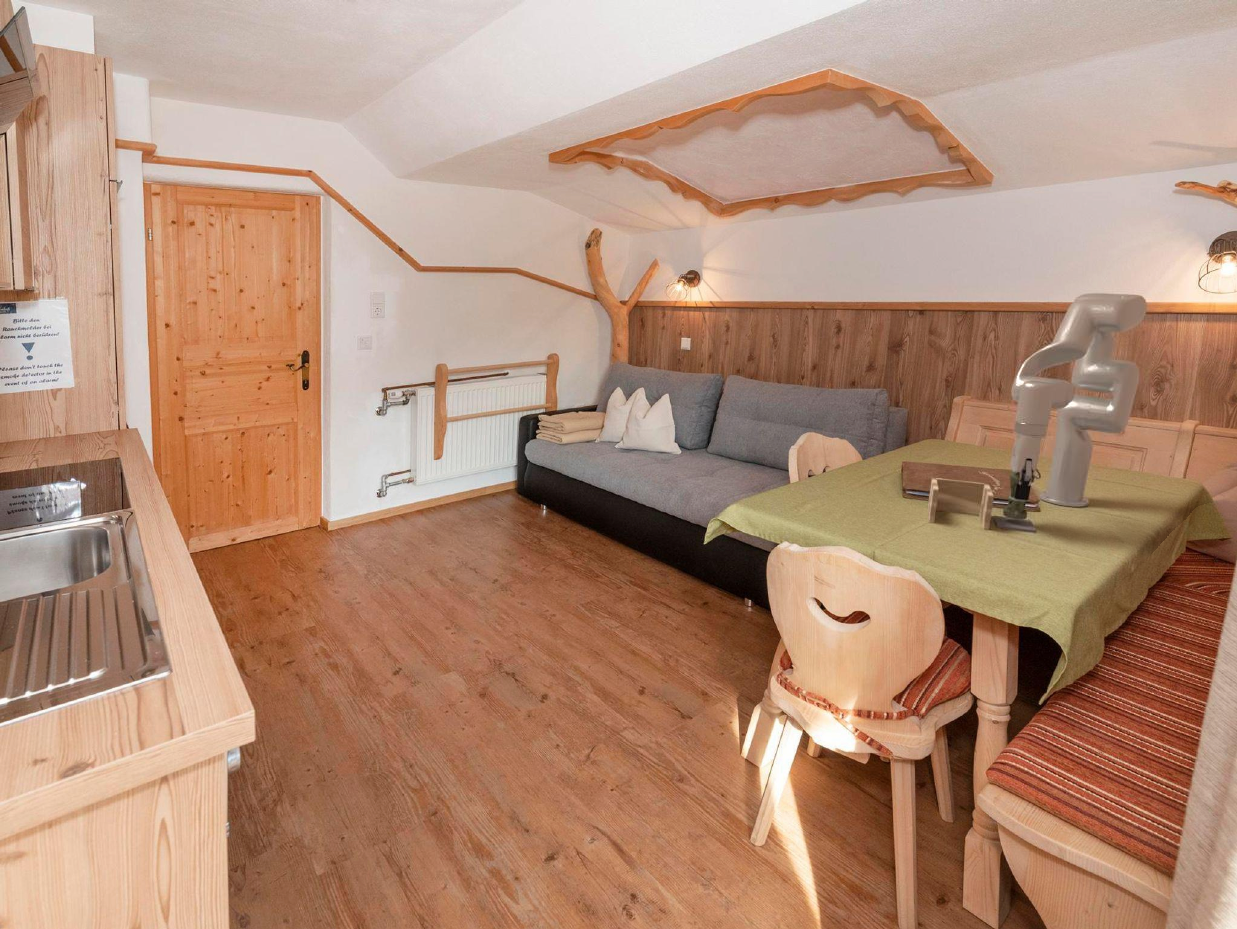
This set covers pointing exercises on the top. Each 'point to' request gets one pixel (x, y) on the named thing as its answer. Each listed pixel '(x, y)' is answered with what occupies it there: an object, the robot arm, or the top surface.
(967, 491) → the light wood u-shaped frame
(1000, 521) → the coaster
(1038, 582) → the top surface
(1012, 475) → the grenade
